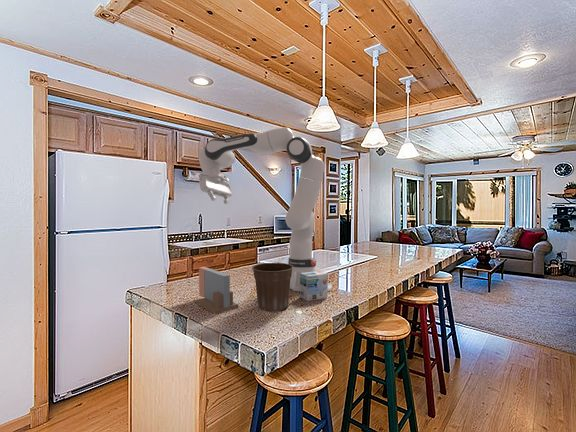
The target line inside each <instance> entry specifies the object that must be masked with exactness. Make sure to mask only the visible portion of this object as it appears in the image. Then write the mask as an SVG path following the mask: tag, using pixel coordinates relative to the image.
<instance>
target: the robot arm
mask: <svg viewBox="0 0 576 432" xmlns="http://www.w3.org/2000/svg"><path fill="white" fill-rule="evenodd" d="M242 149H243V150H249V151H253V152H254V153H256V154H259V155H261V156H267V155H273V154H276V153H278V152H279V153H280V152H283V151H286V153H287V155H288V156H289V158H290V159H291V160H293V161H294V162H296V163H298V164H300V166H301V167H300V173H299V178H298V181H297V184H296V190H295V191H294V192H295V193H294V196H293V198H292V200H291V203H290V205H289V207H288V208H289V209H288V211H287V213H286V214H285V219H284V220H285V223H286V225H287V227H288V228H289V229H291V234H290V240H289V242H288V243H289V254H288V255H289V257H288V259H287V260H288V261H287V264H290V265H292V266H293V269H292V276H291V279H290V290H291V291H294V292H300V273H306V272H315V271H321V272H324V271H323V270H322V269H320V268H319V267H318V266H317V259H315V258H313V237H314V232H315V231H314V229H315V228H314V227H315V220H316V219H315V212H313V210H314V208H315V205H316V203H317V200H318V199H319V195H320V191H321V186H322V182H323V178H324V170H325V163H324V160H323V159H321V158H320V157H318V156H315V155H314V149H313V147H312V145H311V144H310V142H309V141H308V140H306V138H304V137H302V136H295V135H294V133H293V131H292V129H290V127H284V126H283V127H278V128H273V129H269V130H267V131H262V132H257V133H246V134H245V133H244V134H240V135H235V136H231V137H226V138H211V139H210V140H209V141H207V143H206V144H205V146H204V148H202V149H201V150H200V151H199V153H198V161H199V162H198V163H199V167H200V168H201V170H202V173H200V174H198V178H199V180H198V183H199V187H200V191H202V192H204V193H207V195H208V196H209V198H210V200H211V201H213V202H215V201H217V197H216V196H218V197H222V198H223V199H224V200H223V203H224V204H225V205H228V204H229V198H231V197H232V196H233V189H232V187H231V184H230V183H229V178H228V177H227V176H226V175H224V173H222V172H221V171H222V170H225V169H227V168H230V167H231V166H233V165H234V163H235V161H236V156H235V153H234V152H233V151H237V150H242ZM332 289H333V285H332V284H331V283H330V282H328V291H327V293H328V292H329V291H331V290H332Z"/></svg>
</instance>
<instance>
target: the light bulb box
mask: <svg viewBox="0 0 576 432" xmlns="http://www.w3.org/2000/svg"><path fill="white" fill-rule="evenodd" d="M321 271H322V270H321ZM321 271H315V272H306V273H300V291H299V298H302V299H303V300H305V301H306V302H310V301H315V300H322V299H328V292H329V291H328V283H329V282H328V281H329V280H328V279H329V278H328V277H329V274H328V273H326V272H324V271H323V272H321ZM327 291H328V292H327Z"/></svg>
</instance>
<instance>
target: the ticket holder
mask: <svg viewBox="0 0 576 432" xmlns="http://www.w3.org/2000/svg"><path fill="white" fill-rule="evenodd" d="M230 277H231V275H229V274H227V273H224V272H221V271H218V270H215V269H212V268H210V269H205V298H204V297H202V298H198V299H196V300H195V301H196V304H197V305H198V306H201V307H202V308H204V309H206V310H207V311H210V312H212V313H213V314H215V315H216V314H219V313H224V312H228V311H232V310H236V309H239V303H236V302H234V291H232V290H230V289H231V286H230V285H231V282H230V280H231V279H230Z"/></svg>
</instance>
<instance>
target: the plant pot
mask: <svg viewBox="0 0 576 432" xmlns="http://www.w3.org/2000/svg"><path fill="white" fill-rule="evenodd" d="M251 269H252V271H253V279H254V281H255V290H256V299H257V307H258V309H259V310H261V311H266V312H280V311H283V310H286V309H288V308H289V305H290V304H289V303H290V290H291V289H290V279H291V276H292V269H293V266H292V265H290V264H288V263H284V262H265V263H259V264H255V265H252V267H251Z"/></svg>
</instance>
